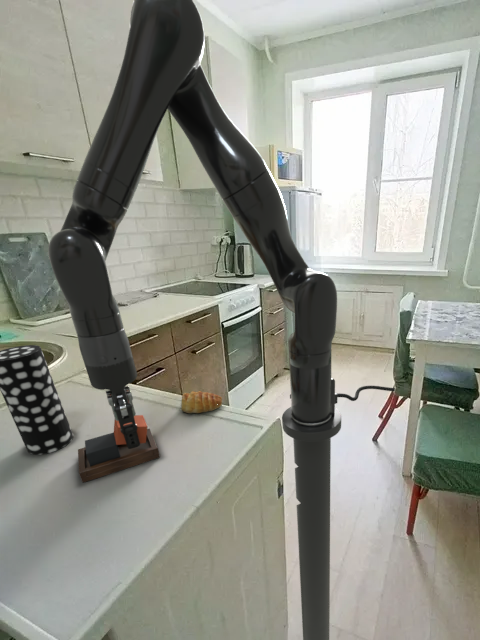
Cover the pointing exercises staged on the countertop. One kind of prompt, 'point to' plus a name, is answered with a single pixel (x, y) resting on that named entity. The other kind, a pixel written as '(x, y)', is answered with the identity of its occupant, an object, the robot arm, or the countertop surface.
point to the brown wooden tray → (118, 459)
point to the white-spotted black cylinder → (33, 399)
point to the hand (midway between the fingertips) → (131, 438)
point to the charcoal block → (101, 449)
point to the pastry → (200, 402)
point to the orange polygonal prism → (140, 430)
